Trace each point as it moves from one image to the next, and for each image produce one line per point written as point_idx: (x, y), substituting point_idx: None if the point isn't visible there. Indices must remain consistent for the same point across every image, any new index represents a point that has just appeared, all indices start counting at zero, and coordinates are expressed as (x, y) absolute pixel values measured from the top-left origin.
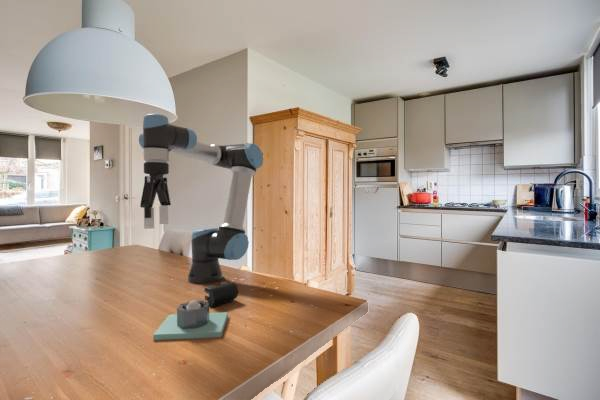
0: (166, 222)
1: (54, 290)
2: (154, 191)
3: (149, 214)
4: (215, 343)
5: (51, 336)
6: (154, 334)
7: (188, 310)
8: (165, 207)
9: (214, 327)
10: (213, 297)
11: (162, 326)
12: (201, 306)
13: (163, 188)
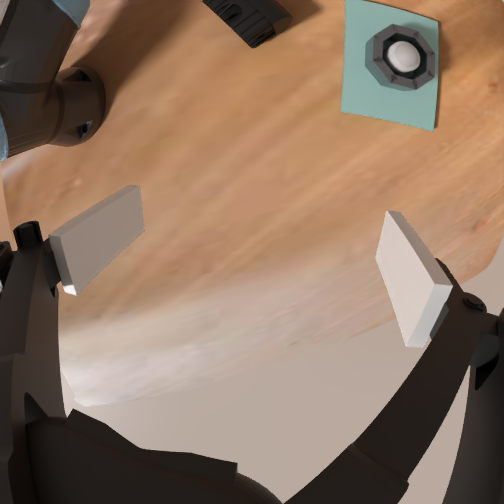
0: (136, 194)
1: (157, 354)
2: (427, 445)
3: (447, 273)
4: (452, 35)
5: (364, 291)
6: (432, 129)
7: (431, 67)
8: (74, 244)
9: (420, 28)
10: (289, 19)
11: (402, 118)
12: (384, 40)
13: (18, 400)
